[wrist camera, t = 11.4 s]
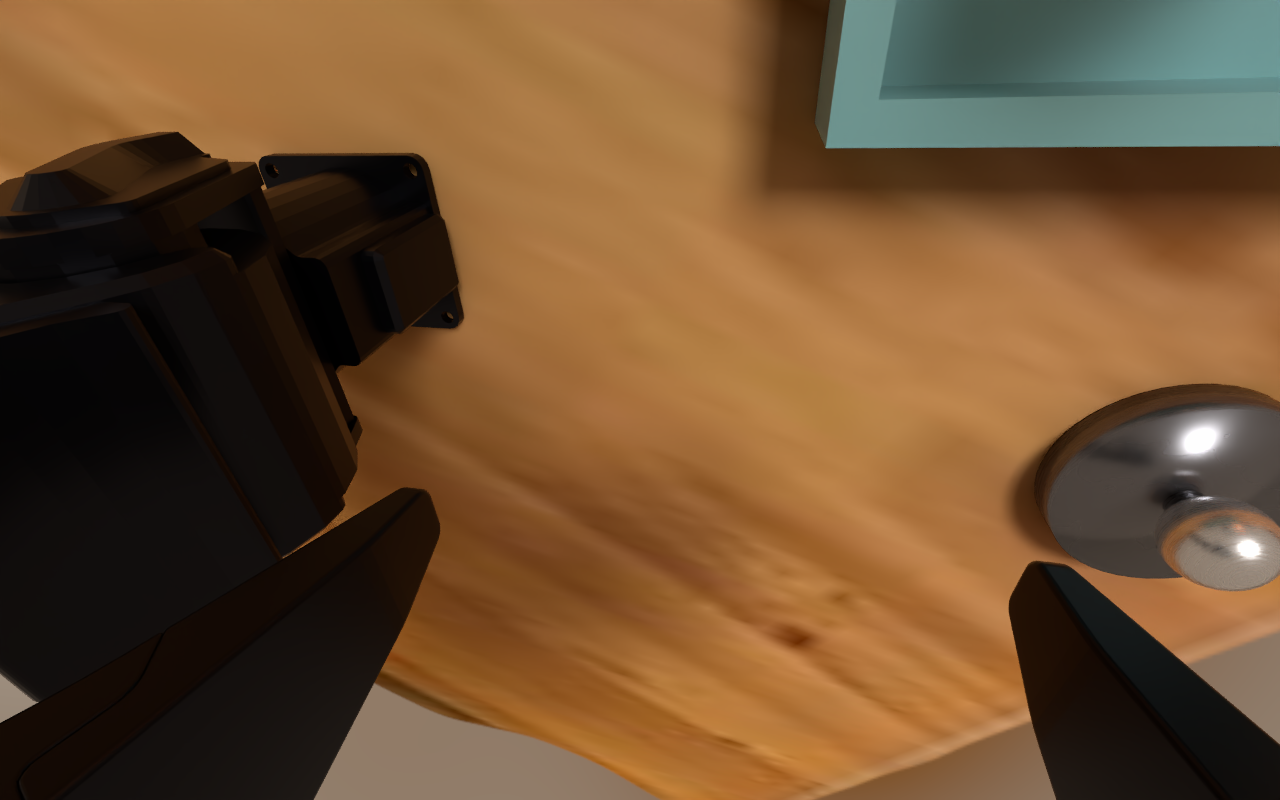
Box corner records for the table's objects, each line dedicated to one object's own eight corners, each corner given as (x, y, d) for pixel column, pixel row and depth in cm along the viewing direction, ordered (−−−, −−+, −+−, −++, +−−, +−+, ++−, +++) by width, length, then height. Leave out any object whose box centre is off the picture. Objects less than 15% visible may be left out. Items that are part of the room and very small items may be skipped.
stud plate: (1005, 535, 24) (1052, 637, 20) (1083, 375, 19) (1162, 466, 15) (1225, 559, 22) (1322, 674, 18) (1364, 393, 18) (1532, 498, 14)
